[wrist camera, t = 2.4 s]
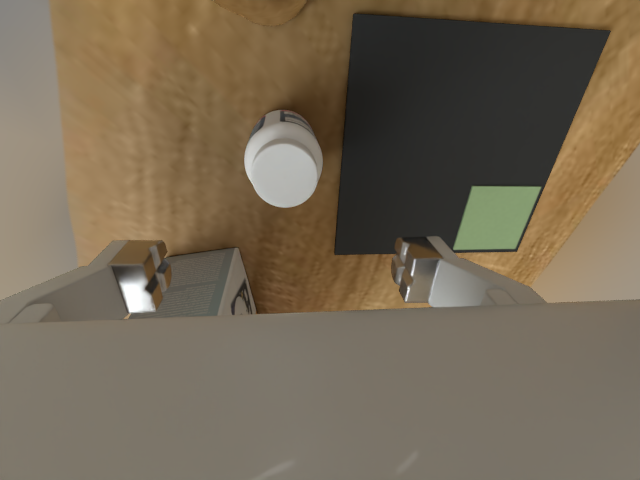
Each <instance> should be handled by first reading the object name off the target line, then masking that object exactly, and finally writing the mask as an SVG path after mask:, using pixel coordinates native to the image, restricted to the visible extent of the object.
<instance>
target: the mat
mask: <svg viewBox="0 0 640 480" xmlns="http://www.w3.org/2000/svg"><path fill="white" fill-rule="evenodd" d="M610 32H611V31H609V30H594V29H579V28H564V27H549V26H534V25H519V24H504V23H489V22H474V21H459V20H444V19H429V18H414V17H399V16H384V15H369V14H353V24H352V36H351V49H350V62H349V74H348V87H347V100H346V112H345V125H344V138H343V150H342V163H341V176H340V189H339V201H338V214H337V227H336V239H335V252H334V253H335V255H354V254H397V252H396V250H395V249H394V247H395V242H396V240H397V238H400V237H429V236H438V237H440V238H441V239H442V240H443V241H444V242H445V243H446V245H447V246H448V247H449V248H450V249H451V250H452V251H453V252H454V253H466V252H517V250H518V248H519V245H520V243H521V241H522V238H523V236H524V233H525V231H526V229H527V226H528V224H529V222H530V219H531V217H532V215H533V212H534V210H535V208H536V205H537V203H538V201H539V198H540V196H541V194H542V191H543V189H544V187H545V184H546V182H547V179H548V177H549V175H550V172H551V170H552V168H553V165H554V163H555V161H556V158H557V156H558V154H559V151H560V149H561V147H562V144H563V142H564V140H565V137H566V135H567V133H568V130H569V128H570V125H571V123H572V121H573V118H574V116H575V114H576V111H577V109H578V107H579V104H580V102H581V100H582V97H583V95H584V93H585V90H586V88H587V86H588V83H589V81H590V79H591V76H592V74H593V71H594V69H595V67H596V64H597V62H598V60H599V57H600V55H601V53H602V50H603V48H604V46H605V43H606V41H607V39H608V36H609V34H610Z"/></svg>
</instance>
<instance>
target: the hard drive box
mask: <svg viewBox="0 0 640 480" xmlns="http://www.w3.org/2000/svg"><path fill="white" fill-rule="evenodd" d="M165 259H166V260H167V261H168V262H169V263H170V265H171V272H172V277H171V283H170V286H169V288H168V290H166V291H164V292H163V293H162V296H163V299H162V301H161V303H160V305H159V307H158V309H157V311H156V312H145V313H131V315H130V317H129V318H128V319H143V318H170V317H196V316H222V315H248V314H257V311H256V308H255V304H254V300H253V297H252V293H251V290H250V286H249V281H248V279H247V275H246V272H245V268H244V265H243V262H242V258H241V255H240V251H239V249H238V248H229V249H222V250H215V251H207V252H201V253H194V254H187V255H180V256H174V257H167V258H165Z"/></svg>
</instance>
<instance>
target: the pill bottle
mask: <svg viewBox="0 0 640 480" xmlns="http://www.w3.org/2000/svg"><path fill="white" fill-rule="evenodd" d="M244 164H245V170H246V173H247V176H248V178H249V180H250V181H251V183H252V184H253V187H254V189H255V191H256V192H257V194H258V195H259V196H260V197H261V198H262V199H263V200H264V201H266V202H267V203H269V204H271V205H274V206H277V207H284V208H287V207H294V206H297V205H300V204H302V203H303V202H305V201H306V200H307V199H308V198H309V197H310V196H311V195H312V194H313V192H314V191H315V189H316V186H317V183H318V180H319V178H320V175H321V172H322V167H323V157H322V152H321V148H320V146H319V143H318V141H317V139H316V137H315V135H314V132H313V130H312V128H311V126H310V125H309V123H308V122H307V121H306V120H305V119H304V118H303V117H302V116H301V115H299V114H297V113H295V112H293V111H289V110H276V111H272V112H270V113H268V114H266V115H264V116H263V117H262V118H260V119H259V120H258V122H257V123H256V125H255V126H254V128H253V130H252V133H251V135H250V138H249V141H248V143H247V147H246V151H245V157H244Z"/></svg>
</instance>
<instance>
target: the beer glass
mask: <svg viewBox="0 0 640 480" xmlns="http://www.w3.org/2000/svg"><path fill="white" fill-rule="evenodd" d="M212 1H213V2H215V3H216V4H218V5H219V6H221V7H223V8H225V9H226V10H228V11H230V12H232V13H235V14H237V15H240V16H243V17H244V18H246V19H247V20H249V21H251V22H253V23H255V24H258V25H262V26H277V25H281V24H284V23H286V22H288V21H290V20H291V19H293V18H294V17H295V16H296V15H297V14H298V13H299V12H300V10H301V9H302V8H303V6H304V4H305V2H306V1H308V0H212Z"/></svg>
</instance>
